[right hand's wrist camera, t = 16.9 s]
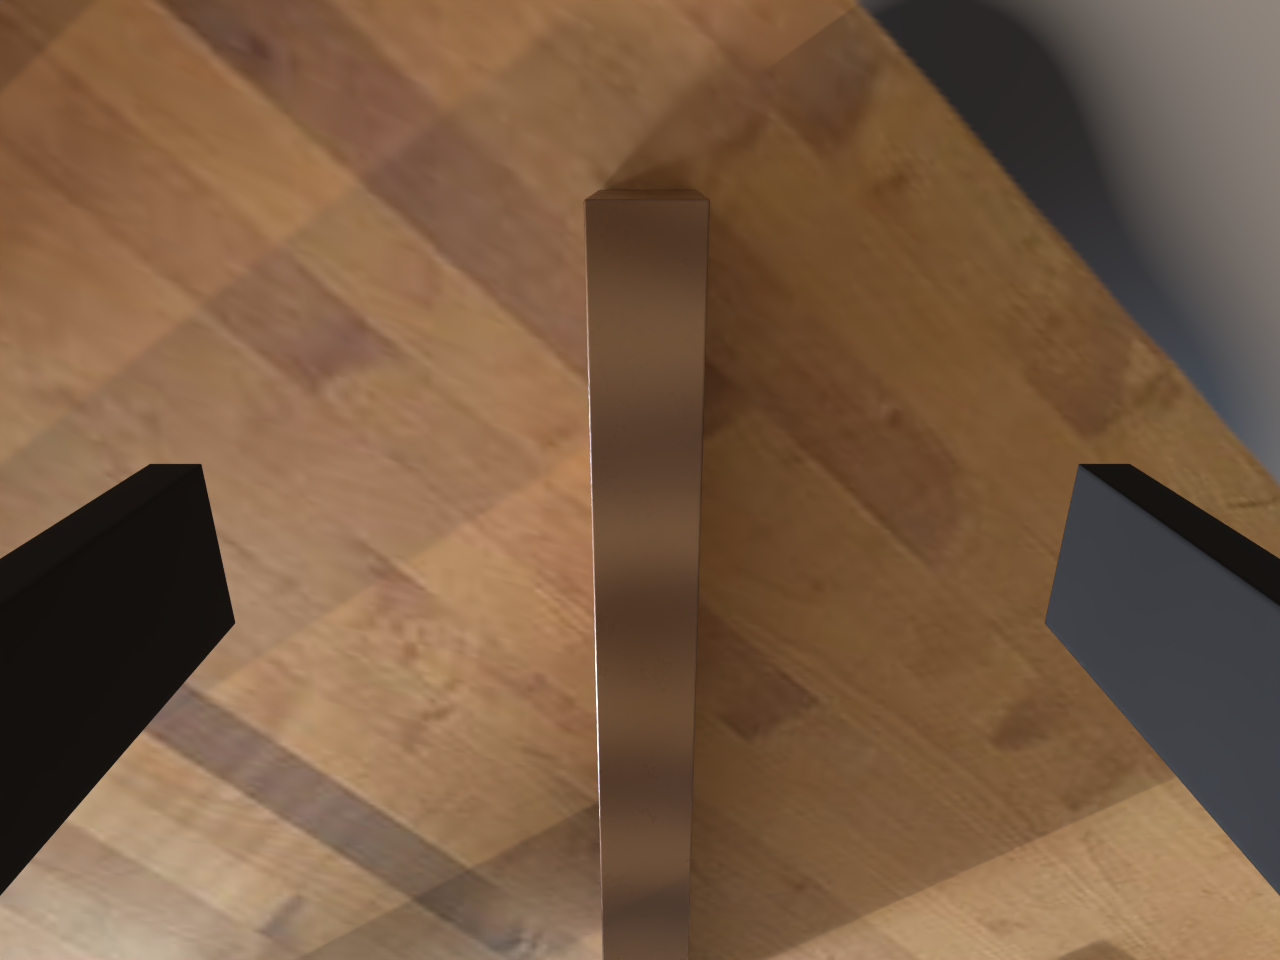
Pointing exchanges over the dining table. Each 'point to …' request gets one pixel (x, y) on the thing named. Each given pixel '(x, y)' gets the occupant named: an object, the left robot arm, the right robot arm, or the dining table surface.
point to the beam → (646, 550)
